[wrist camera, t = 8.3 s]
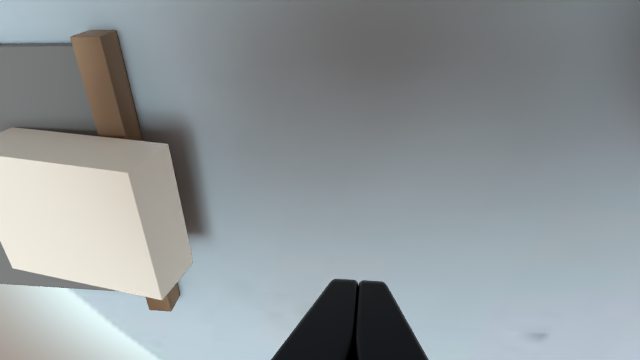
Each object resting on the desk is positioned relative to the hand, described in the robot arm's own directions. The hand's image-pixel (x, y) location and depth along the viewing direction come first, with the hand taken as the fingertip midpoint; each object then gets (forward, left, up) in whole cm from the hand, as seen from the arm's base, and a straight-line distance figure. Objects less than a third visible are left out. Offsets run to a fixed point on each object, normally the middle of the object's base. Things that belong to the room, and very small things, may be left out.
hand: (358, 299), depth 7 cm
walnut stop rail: (+10, +5, -12) cm, 17 cm away
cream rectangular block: (+8, +5, -9) cm, 13 cm away
